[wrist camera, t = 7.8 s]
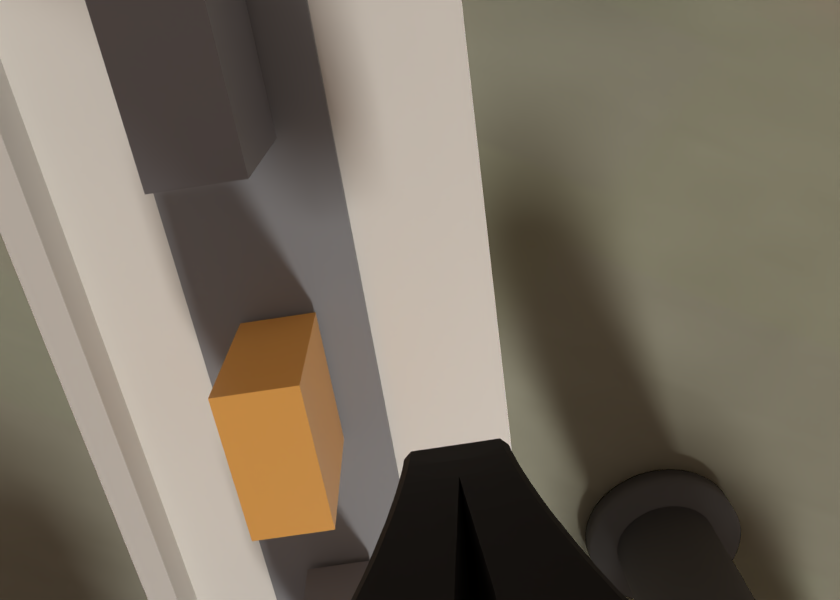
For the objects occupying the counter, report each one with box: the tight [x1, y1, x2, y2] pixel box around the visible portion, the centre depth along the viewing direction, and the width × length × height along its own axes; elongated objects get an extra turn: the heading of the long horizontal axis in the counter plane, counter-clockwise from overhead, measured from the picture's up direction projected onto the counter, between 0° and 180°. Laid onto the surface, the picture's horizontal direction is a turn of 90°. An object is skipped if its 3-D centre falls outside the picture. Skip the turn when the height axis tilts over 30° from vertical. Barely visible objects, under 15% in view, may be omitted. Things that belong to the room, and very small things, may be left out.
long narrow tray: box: [0, 0, 512, 600], centre depth 15 cm, size 8×24×4 cm, turn 8°
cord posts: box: [586, 470, 755, 600], centre depth 13 cm, size 4×20×9 cm, turn 8°
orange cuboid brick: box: [208, 312, 344, 541], centre depth 13 cm, size 1×3×3 cm, turn 9°
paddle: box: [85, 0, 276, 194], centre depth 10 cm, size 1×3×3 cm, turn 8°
